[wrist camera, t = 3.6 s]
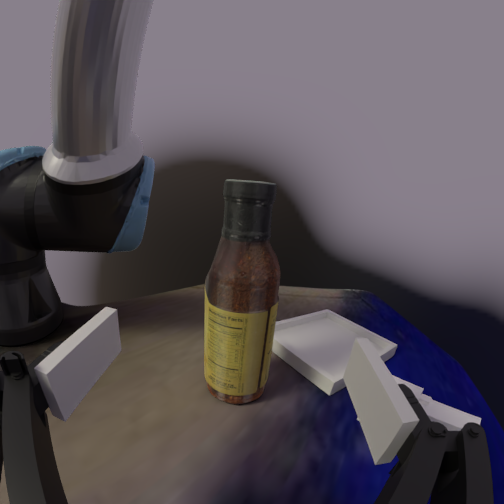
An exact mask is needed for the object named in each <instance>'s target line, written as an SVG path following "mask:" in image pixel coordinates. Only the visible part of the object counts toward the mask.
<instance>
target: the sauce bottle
mask: <svg viewBox="0 0 504 504" xmlns="http://www.w3.org/2000/svg"><path fill="white" fill-rule="evenodd" d="M223 196H224V200H225V212H224V226H223V228H222V237H221V240H220V242H219V245H218V248H217V251H216V254H215V257H214V260H213V263H212V266H211V269H210V271H209V273H208V275H207V277H206V281H205V319H204V375H205V379H206V382H207V387H208V389H209V391H210V393H211V394H212V395H213V396H215V397H216V398H218V399H219V400H221V401H224V402H226V403H231V404H235V405H237V404H243V403H247V402H251V401H254V400H256V399H258V398H259V397H260V396H261V395H262V393H263V391H264V388H265V384H266V382H267V379H268V374H269V367H270V360H271V353H272V346H273V338H274V331H275V324H276V316H277V308H278V300H279V299H278V290H279V282H280V267H279V263H278V260H277V256H276V254H275V252H274V251H273V249H272V247H271V245H270V242H269V239H270V236H271V231H270V227H271V214H272V206H273V203H274V201H275V199H276V184H275V183H267V182H259V181H245V180H232V179H230V180H229V179H228V180H226V181H225V183H224V191H223Z"/></svg>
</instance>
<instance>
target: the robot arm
mask: <svg viewBox="0 0 504 504" xmlns="http://www.w3.org/2000/svg"><path fill="white" fill-rule="evenodd" d="M152 4H153V0H60V1H59V5H58V11H57V17H56V24H55V31H54V39H53V49H52V61H51V121H52V136H53V142H52V144H51V145H50V146H49V147H48V149H47V150H46V149H45V148H43V147H39V146H26V147H21V148H10V149H5V150H2V151H0V345H8V346H12V345H22V344H27V343H30V342H34V341H36V340H39V339H41V338H43V337H45V336H47V335H49V334H50V333H52V332H53V331H54V330H55V329H56V328H57V327H58V326H59V325H60V323H61V322H62V319H63V311H62V305H61V300H60V297H59V295H58V293H57V291H56V288H55V286H54V284H53V281H52V279H51V277H50V274H49V272H48V269H47V267H46V261H45V250H54V251H79V252H102V253H112V252H121V251H132V250H134V249H136V248H137V247H138V246H139V245H140V243H141V241H142V237H143V234H144V228H145V224H146V218H147V213H148V205H149V204H148V201H149V199H150V194H151V189H152V182H153V176H154V166H155V163H154V160H153V159H152V158H149V157H147V156H143V143H142V141H141V139H140V138H139V137H138V136H137V135H136V134H134V133H133V132H132V131H131V125H132V114H133V104H134V96H135V89H136V82H137V75H138V68H139V63H140V57H141V51H142V46H143V41H144V37H145V32H146V28H147V24H148V19H149V15H150V12H151V8H152ZM121 350H122V349H121V341H120V333H119V324H118V314H117V309H113V308H109V307H105V308H104V309H103V310H101V311H100V312H99V313H98V314H96V315H95V316H94V317H93V318H92V319H90V320H89V321H88V322H87V323H86V324H84V325H83V326H82V327H81V328H80V329H78V330H77V331H76V332H75V333H74V334H72V335H71V336H70V337H69V338H68V339H67V340H65V341H64V342H63V341H60V342H58V343H55V344H53V345H52V346H51V347H49V348H48V349H47V351H45V352H43V353H42V355H40V356H39V357H38V358H36V359H35V360H34V361H33V362H32V363H31V364H30V365H28V366H27V365H26V362H25V359H24V356H23V354H22V353H21V352H18V351H9V352H6V353H4V354H3V355H2V356H1V357H0V364H1V367H2V370H3V371H0V481H1V473H2V465H3V459H4V469H5V477H6V484H7V491H8V496H9V501H10V504H68V502H67V499H66V496H65V493H64V490H63V486H62V483H61V480H60V476H59V473H58V469H57V465H56V461H55V456H54V452H53V447H52V442H51V437H50V431H49V425H48V418H47V414H46V412H45V410H46V409H47V408H48V407H49V408H50V410H51V412H52V415H53V416H55V417H57V418H59V419H61V420H63V421H65V422H66V420H67V419H68V418H69V416H70V415H71V414H72V412H73V411H74V410H75V408H76V407H77V406H78V404H79V403H80V402H81V401H82V399H83V398H84V397H85V395H86V394H87V393H88V392H89V390H90V389H91V388H92V387H93V385H94V384H95V383H96V381H97V380H98V379H99V378H100V376H101V375H102V374H103V373H104V371H105V370H106V369H107V368H108V366H109V365H110V364H111V363H112V361H113V360H114V359H115V358H116V357H117V355H118V354H119V353H120V352H121ZM343 379H344V382H345V384H346V387H347V389H348V392H349V395H350V397H351V400H352V402H353V405H354V408H355V410H356V413H357V416H358V418H359V421H360V424H361V426H362V429H363V432H364V435H365V437H366V440H367V443H368V446H369V449H370V451H371V454H372V457H373V460H374V463H375V465H378V464H383V463H389V462H391V461H392V460H393V458H394V457H395V456H396V454H397V456H398V458H399V461H398V462H397V464H396V465H395V466H394V467H393V469H392V470H391V471H390V472H389V474H391V475H390V477H389V479H388V480H387V482H386V484H385V486H384V488H383V489H382V491H381V493H380V494H379V496H378V498H377V499H376V501H375V503H374V504H427V502H428V500H429V497H430V495H431V502H430V504H494V502H493V484H492V474H491V465H490V458H489V451H488V445H487V440H486V435H485V431H484V429H483V428H482V427H481V426H480V425H479V424H477V423H474V422H469V423H466V424H465V425H464V426H463V428H462V429H461V431H448V430H447V428H446V427H445V426H444V425H443V424H441V423H439V422H434V421H432V422H431V420H430V418H429V417H428V415H427V414H426V412H425V410H424V409H423V407H422V406H421V404H420V403H419V401H418V400H417V398H415V395H414V393H413V392H412V390H411V389H410V388H409V387H407V386H406V385H405V384H397V383H396V381H395V379H394V378H393V376H392V375H391V373H390V371H389V370H388V368H387V367H386V365H385V364H384V362H383V360H382V359H381V357H380V356H379V354H378V353H377V351H376V350H375V348H374V347H373V345H372V344H371V342H370V341H369V339H368V338H355V342H354V345H353V348H352V352H351V355H350V358H349V361H348V364H347V367H346V370H345V373H344V376H343ZM431 492H432V493H431Z"/></svg>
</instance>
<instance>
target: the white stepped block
mask: <svg viewBox="0 0 504 504" xmlns="http://www.w3.org/2000/svg"><path fill="white" fill-rule="evenodd" d="M392 376H393V375H392ZM393 378H394V379H395V381H396V383H397V384H405V385H406V386H407V387H409V388H410V389H411V390H412V392H413V393H414V395H415V398H417V400H418V401H419V403H420V404H421V406H422V407H423V409H424V410H425V412H426V414H427V415H428V417H429V418H430V420H431V422H432V421H434V422H439V423H441V424H443V425H444V426H445V427H446V428H447V430H448V431H461V429H462V428H463V426H464V425H465V424H466V423H469V422H474V423H477V424H479V425H480V422H481V418H479V417H476V416H473V415H471V414H468V413H465V412H463V411H460V410H457V409H455V408H452V407H450V406H447V405H444V404H442V403H439V402H437V401H434V400H432V397H429V396H427V395H425V394H421V393H422V391H423V389H424V388H421V387H419V386H416V385H414V384H412V383H409V382H407V381H404V380H402V379H400V378H397V377H395V376H393ZM357 420H358V421H359V418H357Z"/></svg>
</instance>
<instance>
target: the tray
mask: <svg viewBox="0 0 504 504" xmlns="http://www.w3.org/2000/svg"><path fill="white" fill-rule="evenodd" d="M355 338H368V339H369V341H370V342H371V344H372V345H373V347H374V348H375V350H376V351H377V353H378V354H379V356H380V357H381V359H382V360H383V362H385V361H387V360H388V359H390V358H391V357H393V356H394V354H395V351H396V348H397V344H395V343H393V342H391V341H389V340H387V339H385V338H383V337H381V336H379V335H377V334H375V333H373V332H371V331H369V330H367V329H365V328H363V327H361V326H359V325H357V324H355V323H353V322H352V321H350V320H348V319H346V318H344V317H342V316H340V315H338V314H336V313H334V312H332V311H330V310H328V309H326V310H322V311H318V312H314V313H310V314H306V315H302V316H298V317H294V318H290V319H286V320H282V321H277V322H276V324H275V331H274V338H273V346H272V351H273V352H274V353H275V354H276V355H278V356H279V357H280V358H281V359H283V360H284V361H285V362H286V363H288V364H289V365H290V366H291V367H293V368H294V369H295V370H297V371H298V372H299V373H300V374H302V375H303V376H304V377H306V378H307V379H308V380H310V381H311V382H312V383H313V384H315V385H316V386H317V387H319V388H320V389H321V390H323V391H324V392H326V393H327V394H328V395H332V394H333V393H335V392H337V391H339V390H341V389H342V388H344V387H346V384H345V382H344V379H343V376H344V373H345V370H346V367H347V364H348V361H349V358H350V355H351V352H352V348H353V345H354V342H355Z"/></svg>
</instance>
